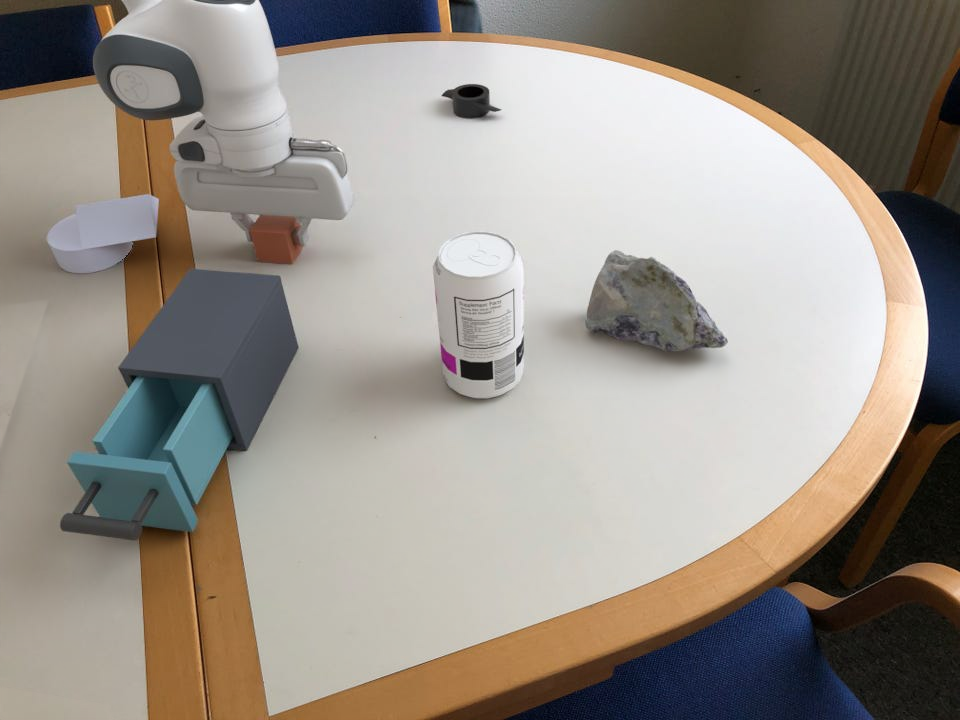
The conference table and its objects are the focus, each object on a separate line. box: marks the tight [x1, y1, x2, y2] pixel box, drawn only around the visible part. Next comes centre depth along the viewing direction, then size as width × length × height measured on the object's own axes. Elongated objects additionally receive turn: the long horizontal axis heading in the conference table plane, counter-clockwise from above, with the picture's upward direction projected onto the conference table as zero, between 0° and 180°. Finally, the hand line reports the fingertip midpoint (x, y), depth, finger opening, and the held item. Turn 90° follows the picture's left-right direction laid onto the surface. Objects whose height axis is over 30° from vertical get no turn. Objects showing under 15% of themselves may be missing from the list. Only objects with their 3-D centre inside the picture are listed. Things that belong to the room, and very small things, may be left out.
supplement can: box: [432, 230, 525, 400], centre depth 76 cm, size 8×8×15 cm
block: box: [249, 215, 304, 265], centre depth 96 cm, size 4×4×4 cm
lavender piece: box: [46, 193, 160, 274], centre depth 97 cm, size 9×7×13 cm
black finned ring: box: [441, 83, 503, 119], centre depth 124 cm, size 8×10×3 cm
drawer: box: [59, 376, 234, 542], centre depth 68 cm, size 18×8×8 cm, turn 170°
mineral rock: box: [585, 249, 729, 352], centre depth 80 cm, size 13×11×10 cm
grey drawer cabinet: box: [117, 268, 299, 451], centre depth 77 cm, size 15×10×10 cm, turn 170°
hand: (278, 241), depth 97 cm, fingers closed on block, 4 cm apart
